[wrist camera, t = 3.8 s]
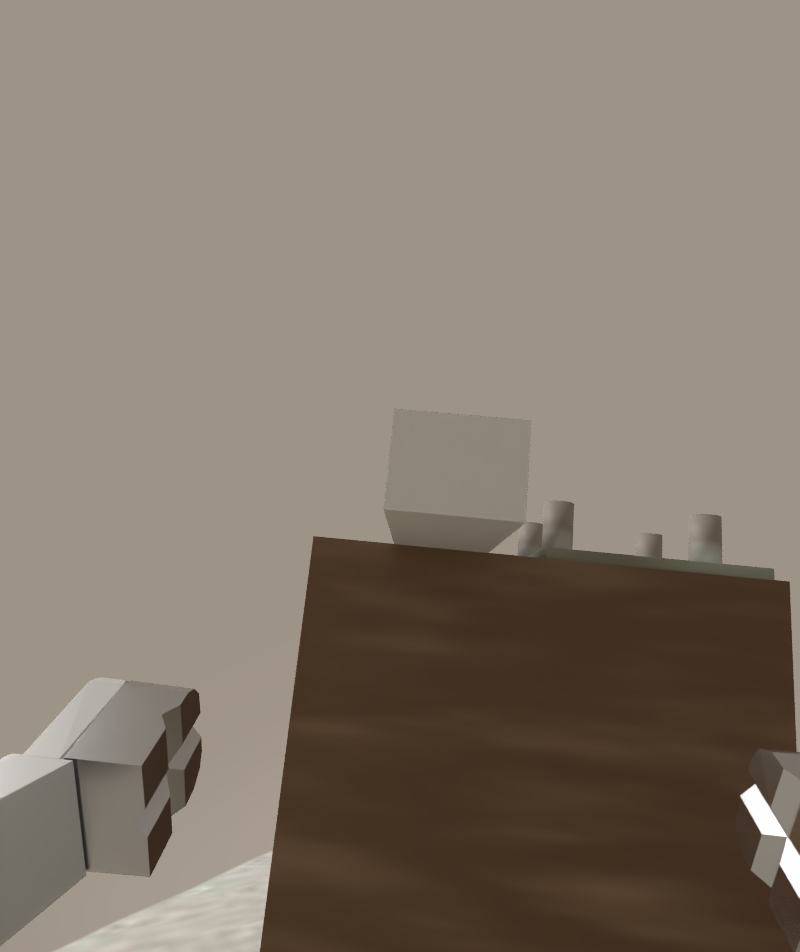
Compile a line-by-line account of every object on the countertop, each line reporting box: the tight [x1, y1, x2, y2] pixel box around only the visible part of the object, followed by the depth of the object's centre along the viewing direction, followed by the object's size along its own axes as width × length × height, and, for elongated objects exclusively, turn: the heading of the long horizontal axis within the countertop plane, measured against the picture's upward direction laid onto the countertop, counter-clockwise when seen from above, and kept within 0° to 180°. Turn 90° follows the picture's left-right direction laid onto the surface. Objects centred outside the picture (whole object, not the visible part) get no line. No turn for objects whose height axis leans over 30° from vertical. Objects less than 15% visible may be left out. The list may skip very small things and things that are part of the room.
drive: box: [384, 409, 531, 553], centre depth 28 cm, size 22×4×3 cm, turn 179°
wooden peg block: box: [260, 501, 796, 952], centre depth 30 cm, size 14×20×29 cm
